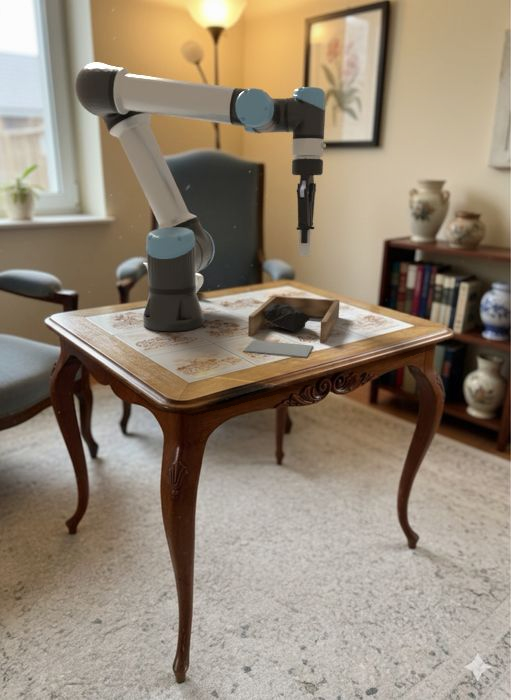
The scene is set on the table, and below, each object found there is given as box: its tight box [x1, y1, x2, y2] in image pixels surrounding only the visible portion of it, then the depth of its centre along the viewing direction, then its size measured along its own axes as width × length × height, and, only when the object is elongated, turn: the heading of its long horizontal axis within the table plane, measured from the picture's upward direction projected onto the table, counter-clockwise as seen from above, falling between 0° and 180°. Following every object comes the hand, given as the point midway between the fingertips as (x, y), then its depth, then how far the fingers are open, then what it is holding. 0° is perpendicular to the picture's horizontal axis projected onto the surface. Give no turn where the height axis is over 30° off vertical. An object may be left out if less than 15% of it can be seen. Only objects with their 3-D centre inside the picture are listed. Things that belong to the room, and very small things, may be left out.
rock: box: [264, 304, 310, 333], centre depth 133 cm, size 8×11×10 cm
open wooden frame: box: [247, 295, 340, 344], centre depth 136 cm, size 18×24×5 cm
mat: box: [242, 339, 314, 359], centre depth 119 cm, size 14×8×1 cm, turn 74°
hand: (304, 255), depth 138 cm, fingers closed
